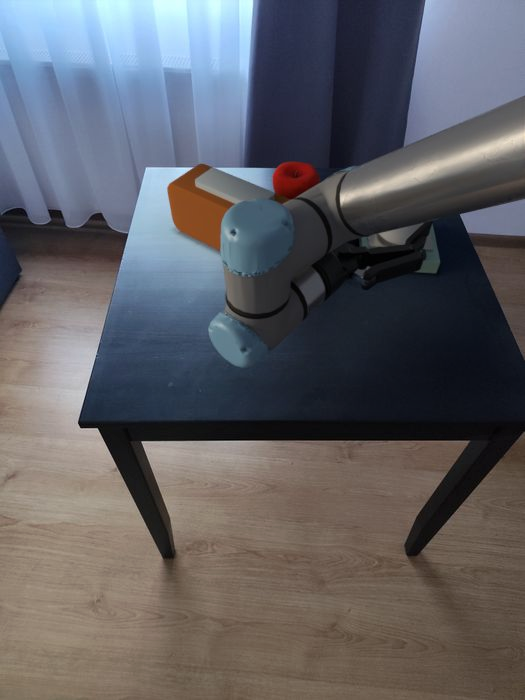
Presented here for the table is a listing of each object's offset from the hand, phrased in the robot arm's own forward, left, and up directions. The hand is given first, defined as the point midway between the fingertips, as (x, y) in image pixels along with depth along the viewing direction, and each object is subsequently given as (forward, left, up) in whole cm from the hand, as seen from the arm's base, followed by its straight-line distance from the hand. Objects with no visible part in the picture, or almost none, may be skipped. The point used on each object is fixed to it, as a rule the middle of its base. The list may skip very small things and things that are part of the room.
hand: (389, 209), depth 74 cm
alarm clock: (+5, +25, -12) cm, 28 cm away
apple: (+17, +15, -12) cm, 26 cm away
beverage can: (+6, -4, -9) cm, 11 cm away
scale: (+6, -4, -12) cm, 14 cm away
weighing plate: (+7, -4, -9) cm, 12 cm away
